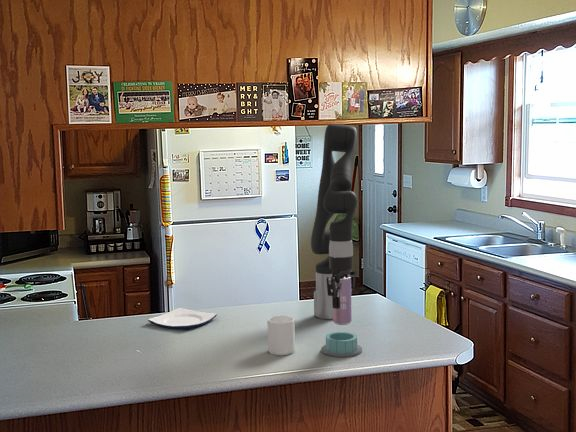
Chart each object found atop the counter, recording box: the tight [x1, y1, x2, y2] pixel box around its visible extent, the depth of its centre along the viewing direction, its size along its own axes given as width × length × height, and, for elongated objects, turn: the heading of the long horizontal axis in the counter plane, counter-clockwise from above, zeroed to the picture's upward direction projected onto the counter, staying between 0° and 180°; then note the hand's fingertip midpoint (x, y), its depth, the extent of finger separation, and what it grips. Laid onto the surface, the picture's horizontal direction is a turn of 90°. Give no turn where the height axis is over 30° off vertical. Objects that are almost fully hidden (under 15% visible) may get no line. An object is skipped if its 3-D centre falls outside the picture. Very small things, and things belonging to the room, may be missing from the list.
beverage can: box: [332, 277, 353, 326], centre depth 228 cm, size 6×6×15 cm
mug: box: [266, 315, 296, 356], centre depth 231 cm, size 9×12×11 cm
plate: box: [147, 307, 218, 330], centre depth 266 cm, size 20×20×3 cm
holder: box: [321, 331, 363, 359], centre depth 230 cm, size 13×13×5 cm
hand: (341, 305), depth 228 cm, fingers closed on beverage can, 6 cm apart
